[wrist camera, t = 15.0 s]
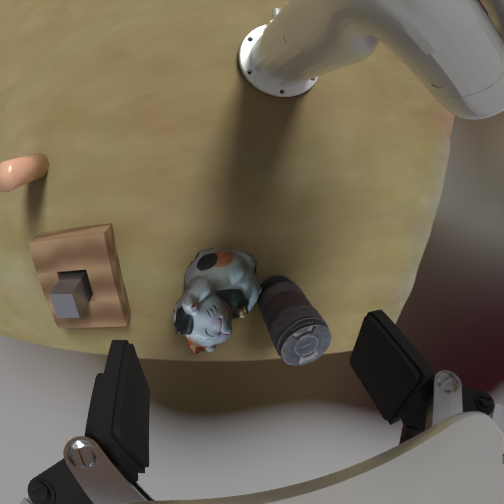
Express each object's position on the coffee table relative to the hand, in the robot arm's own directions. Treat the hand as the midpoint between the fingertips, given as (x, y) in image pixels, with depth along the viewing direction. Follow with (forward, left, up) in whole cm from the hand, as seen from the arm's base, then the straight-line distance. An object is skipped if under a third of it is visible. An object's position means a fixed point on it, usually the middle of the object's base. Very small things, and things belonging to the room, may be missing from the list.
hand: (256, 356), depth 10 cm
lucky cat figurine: (+16, +1, -33) cm, 36 cm away
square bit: (+12, -22, -32) cm, 41 cm away
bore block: (+12, -22, -32) cm, 41 cm away
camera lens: (+19, +12, -33) cm, 39 cm away
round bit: (-7, -27, -32) cm, 43 cm away
